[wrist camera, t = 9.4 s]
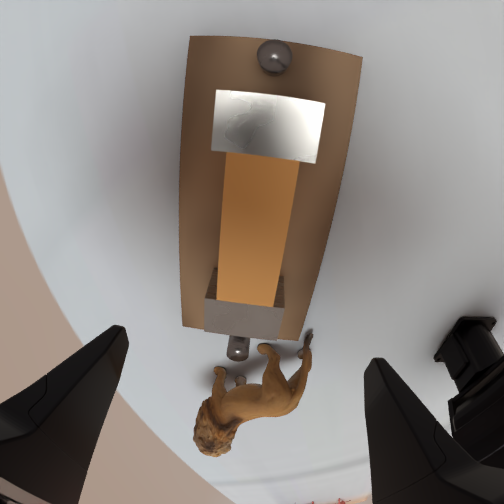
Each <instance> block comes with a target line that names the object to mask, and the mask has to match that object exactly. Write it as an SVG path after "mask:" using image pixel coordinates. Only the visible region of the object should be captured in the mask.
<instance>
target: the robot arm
mask: <svg viewBox="0 0 504 504" xmlns="http://www.w3.org/2000/svg"><path fill="white" fill-rule="evenodd" d="M496 322H497V321H496V319H495V318H478V317H462V318H461V319H459V321H458V322H457V324H456V325H455V327H454V329H453V330H452V332H451V333H450V335H449V336H448V338H447V339H446V341H445V342H444V344H443V345H442V347H441V348H440V350H439V351H438V353H437V354H436V355H435V357H434V360H435V362H445V365H446V367H447V369H448V371H449V374H450V376H451V379H452V380H454V381H455V384H456V386H457V389H458V391H459V394H458V395H456V396H455V397H454V398H451V399H450V400H448V407H449V408H448V409H449V416H450V423H451V431H452V437H453V438H452V437H451V436H450V435H449V434H448V432H447V431H446V430H445V429H444V428H443V427H442V426H441V424H440V423H439V422H438V421H436V418H435V417H434V416H433V415H432V414H431V412H430V411H429V410H428V409H427V408H426V406H425V405H424V404H423V403H422V402H421V401H420V399H419V398H418V397H417V396H416V395H415V393H414V392H413V391H412V390H411V389H410V388H409V386H408V385H407V384H406V383H405V382H404V381H403V380H402V378H401V377H400V376H399V375H398V374H397V373H396V371H395V370H394V369H393V368H392V367H391V366H390V365H389V363H388V362H387V361H386V360H385V359H384V358H373V359H372V360H371V362H370V363H369V365H368V367H367V368H366V370H365V372H364V401H365V418H366V427H367V436H368V445H369V456H370V468H371V483H372V502H373V504H504V354H503V352H502V350H501V348H500V347H499V345H498V343H497V342H496V340H495V338H494V337H493V335H492V333H491V332H490V331H491V330H492V328H493V327H494V325H495V324H496ZM128 347H129V341H128V337H127V333H126V329H125V328H124V327H123V326H119V325H113V326H111V327H110V328H109V329H107V330H106V331H104V332H103V333H102V334H100V335H99V336H97V337H96V338H95V339H93V340H92V341H91V342H89V343H88V344H86V345H85V346H84V347H82V348H81V349H80V350H78V351H77V352H76V353H74V354H73V355H71V356H70V357H69V358H67V359H66V360H65V361H63V362H62V363H61V364H59V365H58V366H56V367H55V368H54V369H52V370H51V371H50V372H49V373H47V375H44V376H43V377H42V378H40V379H39V380H37V381H36V382H35V383H33V384H32V385H30V386H29V387H27V388H26V389H24V390H23V391H21V392H19V393H18V394H16V395H14V396H13V397H11V398H9V399H7V400H6V401H4V402H2V403H1V404H0V504H78V502H79V499H80V495H81V492H82V488H83V485H84V481H85V478H86V475H87V470H88V468H89V465H90V461H91V458H92V455H93V452H94V449H95V446H96V443H97V440H98V437H99V434H100V431H101V429H102V426H103V423H104V420H105V418H106V415H107V412H108V409H109V407H110V404H111V401H112V399H113V396H114V393H115V391H116V388H117V386H118V383H119V380H120V376H121V372H122V369H123V365H124V361H125V358H126V354H127V351H128Z"/></svg>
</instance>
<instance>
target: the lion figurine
mask: <svg viewBox="0 0 504 504" xmlns="http://www.w3.org/2000/svg"><path fill="white" fill-rule="evenodd" d="M312 338H313V334H312V333H310V334H309V335H307V336H306V337H305V340H304V346H303V350H301V351H299V352H298V357H299V359H303V360H302V365H301V367H300V368H299V370H298V371H297V372H296V373H295V374H294V375H293V376H292V377H291V378H290V379H289V380H288V381H286V379H285V377H284V375H283V373H282V372H281V370H280V367H279V362H280V355H279V354H278V353H277V352H276V351H275V350H274V349H273V348H272V347H271V346H270V345H268V344H260V345H258V347H257V350H258V352H259V353H260V354H262V355H265V354H267V355H268V358H269V360H268V364H267V367H266V369H265V372H264V374H263V377H262V385H260V384H252V383H251V384H246V379H245V378H244V377H241V376H239V377H237V378H236V379H235V383H236V387H235V388H233V389H231V390H230V391H228V392H227V391H226V389H225V387H224V382H225V378H226V375H227V374H226V371H225V369H224V368H222V367H215V368H214V372H215V374H216V375H218V376H217V378H216V380H215V383H214V385H213V388H212V396H211V397H209V398H208V399H206V400H205V401H203V402H202V406H201V407H200V408H199V412H198V415H197V418H196V425H195V427H194V436H193V441H194V442H195V443H196V446H197V447H198V448H199V451H200V452H201V453H203V454H205V455H208V456H213V457H218V456H220V455H221V454H225V453H227V452H228V451H230V450H231V443H232V440H233V439H234V436H235V433H236V431H237V428H238V427H239V425H240V424H242V423H244V422H246V421H249V420H252V419H255V418H259V417H279V416H283V415H286V414H288V413H290V412H291V411H293V410H294V409H295V408H296V407H297V406H298V403H299V400H300V399H301V397H302V394H303V392H304V389H305V386H306V382H307V376H308V372H309V371H310V370H311V366H312V353H311V351H310V350H309V345H310V343H311V340H312Z"/></svg>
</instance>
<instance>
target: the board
mask: <svg viewBox="0 0 504 504" xmlns="http://www.w3.org/2000/svg"><path fill="white" fill-rule="evenodd" d="M362 58H363V57H360V56H356V55H352V54H348V53H344V52H340V51H336V50H331V49H326V48H322V47H316V46H311V45H306V44H300V43H293V42H286V41H280V40H270V39H261V38H249V37H234V36H190V41H189V49H188V58H187V67H186V77H185V88H184V100H183V114H182V130H181V150H180V179H179V256H180V287H181V307H182V323H183V326H185V327H191V328H197V329H203V330H204V300H205V295H206V292H207V288H208V285H209V282H210V279H211V275H212V272H213V269H214V267H215V268H218V261H219V244H220V229H221V215H222V201H223V188H224V176H225V164H226V153H227V152H223V151H211V145H212V133H213V121H214V110H215V99H216V90H229V91H242V92H252V93H262V94H270V95H278V96H285V97H292V98H298V99H304V100H310V101H315V102H320V103H325V109H324V115H323V121H322V127H321V133H320V139H319V145H318V151H317V157H316V162H315V164H314V163H308V162H302V161H300V164H299V170H298V176H297V182H296V187H295V193H294V199H293V205H292V210H291V216H290V221H289V227H288V232H287V238H286V243H285V248H284V254H283V259H282V264H281V269H280V274H279V276H284V299H285V310H284V314H283V318H282V322H281V326H280V330H279V334H278V338H277V339H283V340H293V341H298V340H299V337H300V334H301V331H302V328H303V324H304V321H305V318H306V315H307V311H308V308H309V305H310V301H311V298H312V295H313V291H314V288H315V284H316V281H317V277H318V274H319V270H320V266H321V263H322V259H323V255H324V251H325V247H326V244H327V240H328V236H329V232H330V228H331V224H332V220H333V215H334V211H335V207H336V203H337V198H338V194H339V189H340V185H341V180H342V176H343V171H344V166H345V161H346V156H347V151H348V146H349V141H350V135H351V130H352V124H353V119H354V113H355V107H356V100H357V94H358V87H359V81H360V74H361V66H362ZM249 345H250V338H248V337H240V336H233V335H230V336H229V342H228V348H227V357H228V358H229V359H231V360H233V361H238V362H240V361H244V360H246V359H247V358H248V355H249Z"/></svg>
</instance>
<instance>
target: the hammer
mask: <svg viewBox="0 0 504 504" xmlns="http://www.w3.org/2000/svg"><path fill="white" fill-rule="evenodd" d="M324 109H325V103H320V102H315V101H310V100H304V99H298V98H292V97H285V96H278V95H270V94H262V93H252V92H242V91H229V90H216V99H215V110H214V121H213V133H212V145H211V151H223V152H227V153H226V164H225V176H224V188H223V201H222V215H221V229H220V244H219V261H218V268H215V267H214V269H213V272H212V275H211V279H210V282H209V285H208V288H207V292H206V295H205V300H204V331H205V332H212V333H218V334H225V335H233V336H240V337H248V338H257V339H265V340H275V341H277V338H278V334H279V330H280V326H281V322H282V318H283V314H284V310H285V299H284V276H279V274H280V269H281V264H282V259H283V254H284V248H285V243H286V238H287V232H288V227H289V221H290V216H291V210H292V205H293V199H294V193H295V187H296V182H297V176H298V170H299V164H300V161H302V162H308V163H314V164H315V162H316V157H317V151H318V145H319V139H320V133H321V127H322V121H323V115H324Z"/></svg>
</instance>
